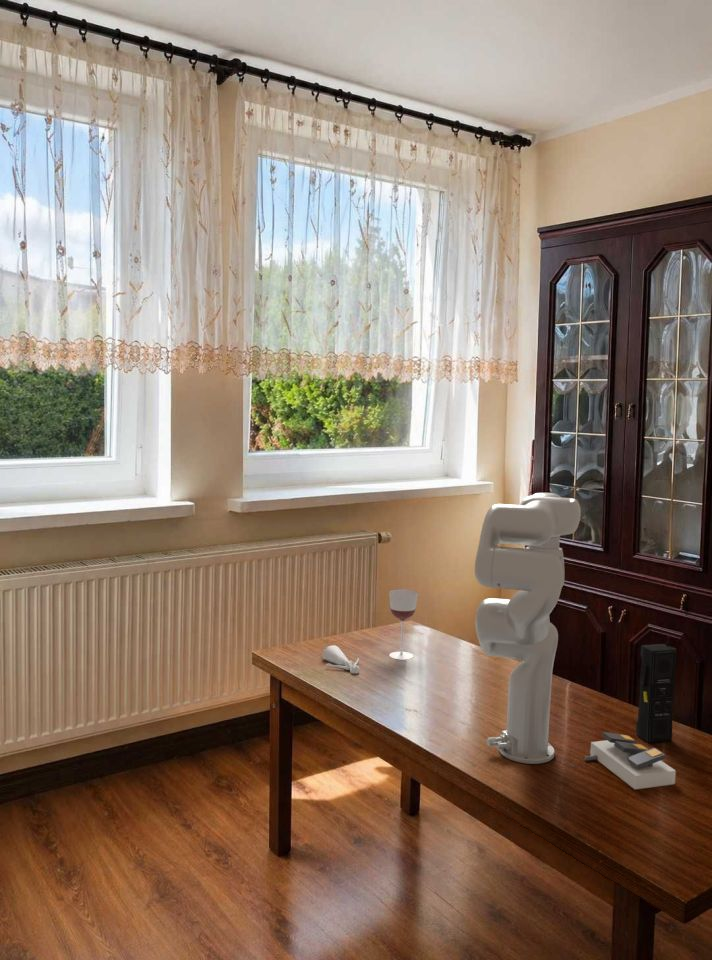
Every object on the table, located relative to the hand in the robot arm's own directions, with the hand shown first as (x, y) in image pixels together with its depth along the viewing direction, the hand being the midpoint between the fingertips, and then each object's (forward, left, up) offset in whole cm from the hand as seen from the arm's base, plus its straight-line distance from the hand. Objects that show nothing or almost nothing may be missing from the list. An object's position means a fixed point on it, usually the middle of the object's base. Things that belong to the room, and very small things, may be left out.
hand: (540, 614), depth 210 cm
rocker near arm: (+7, -26, -24) cm, 36 cm away
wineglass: (-17, +53, -27) cm, 62 cm away
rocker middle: (+7, -31, -24) cm, 40 cm away
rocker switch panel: (+6, -31, -27) cm, 42 cm away
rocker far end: (+7, -36, -24) cm, 44 cm away
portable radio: (+22, -18, -27) cm, 39 cm away
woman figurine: (-37, +49, -28) cm, 67 cm away
